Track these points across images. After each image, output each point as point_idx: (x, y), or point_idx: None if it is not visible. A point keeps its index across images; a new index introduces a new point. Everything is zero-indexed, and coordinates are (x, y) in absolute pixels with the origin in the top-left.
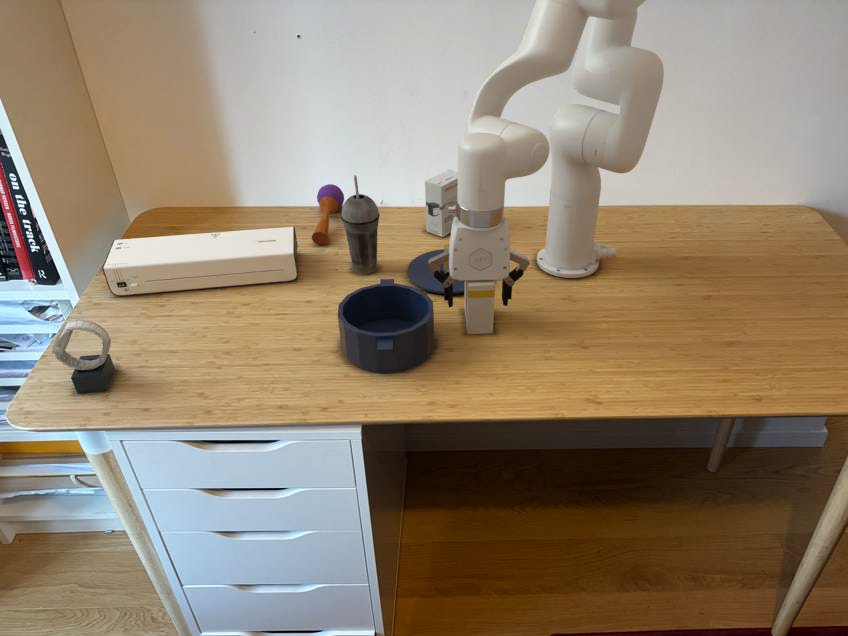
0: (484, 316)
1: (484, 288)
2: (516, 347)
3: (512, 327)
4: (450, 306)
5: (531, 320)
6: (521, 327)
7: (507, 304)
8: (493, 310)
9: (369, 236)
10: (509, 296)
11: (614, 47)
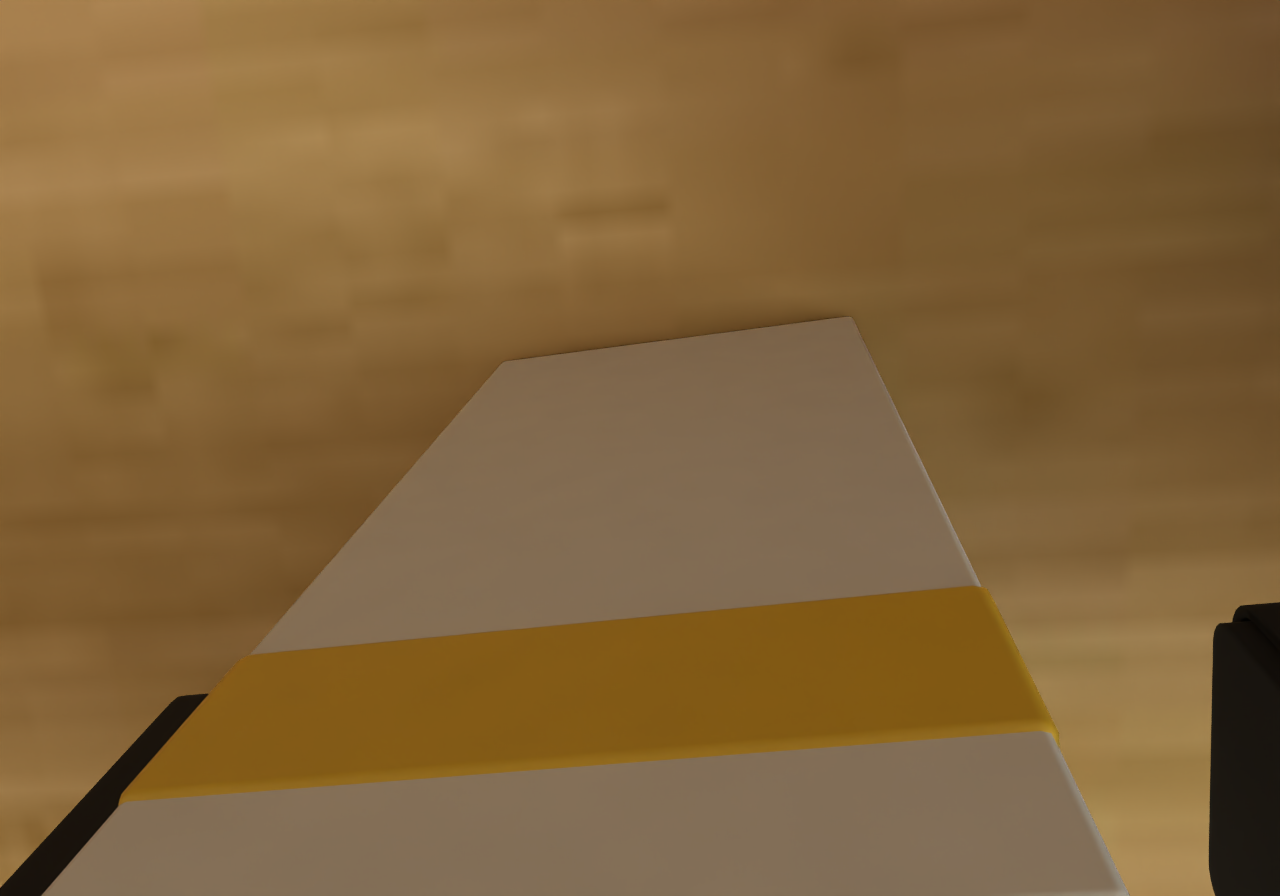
0: (580, 432)
1: (429, 829)
2: (145, 53)
3: (268, 510)
4: (1275, 604)
5: (70, 660)
6: (160, 516)
7: (171, 706)
8: (387, 495)
9: None
10: None
11: None
